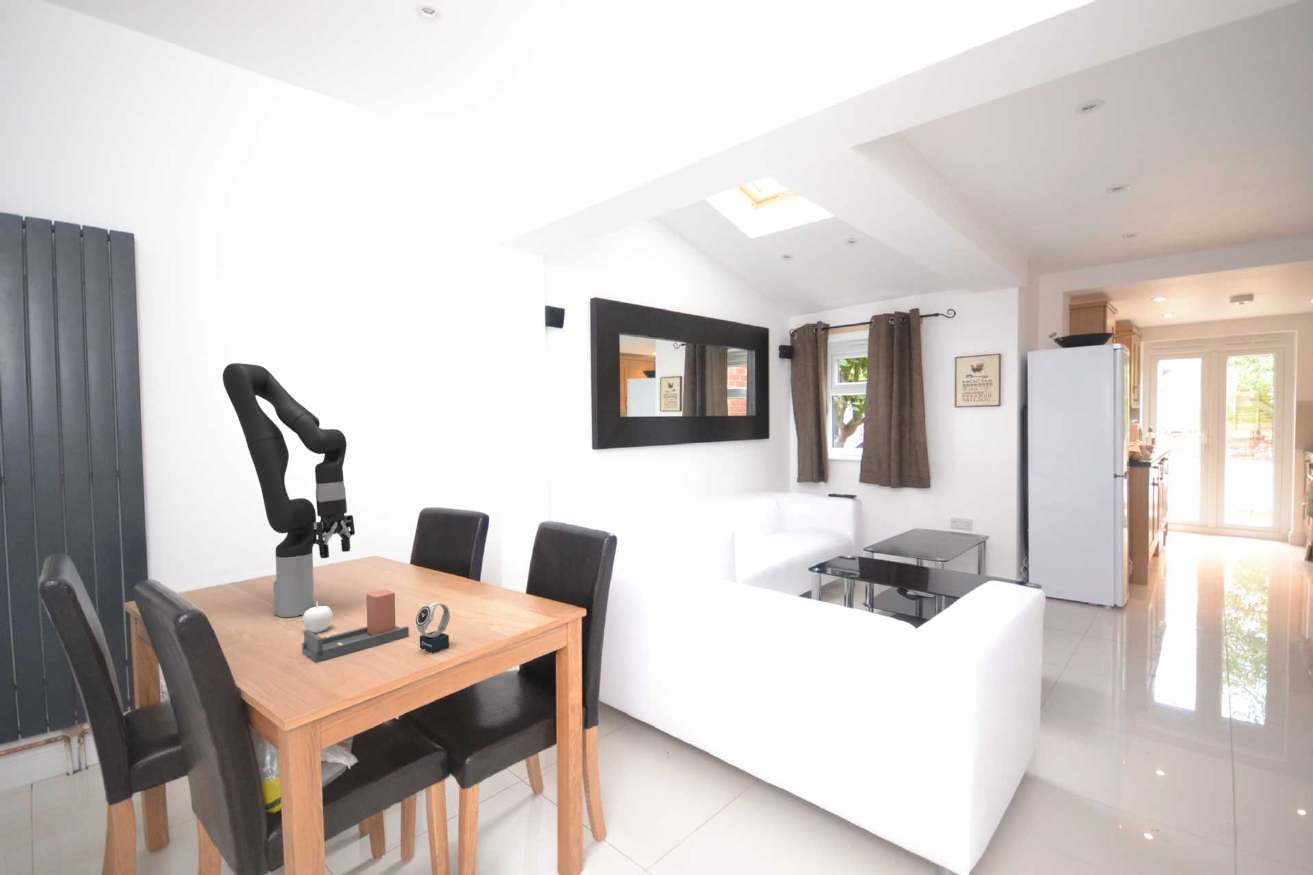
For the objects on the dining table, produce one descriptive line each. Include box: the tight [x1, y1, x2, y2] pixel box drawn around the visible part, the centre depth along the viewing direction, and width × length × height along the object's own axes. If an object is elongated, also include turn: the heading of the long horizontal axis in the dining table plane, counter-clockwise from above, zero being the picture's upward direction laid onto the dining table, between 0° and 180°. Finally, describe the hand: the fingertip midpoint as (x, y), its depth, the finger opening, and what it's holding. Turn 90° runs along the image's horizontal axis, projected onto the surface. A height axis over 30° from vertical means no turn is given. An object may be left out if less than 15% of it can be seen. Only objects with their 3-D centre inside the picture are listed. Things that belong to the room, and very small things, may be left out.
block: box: [366, 589, 396, 635], centre depth 153 cm, size 5×5×10 cm
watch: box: [415, 601, 451, 654], centre depth 146 cm, size 6×8×11 cm
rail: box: [301, 625, 410, 663], centre depth 149 cm, size 22×9×5 cm, turn 138°
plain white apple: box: [302, 600, 334, 634], centre depth 160 cm, size 7×7×8 cm
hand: (335, 554), depth 172 cm, fingers open, 8 cm apart
